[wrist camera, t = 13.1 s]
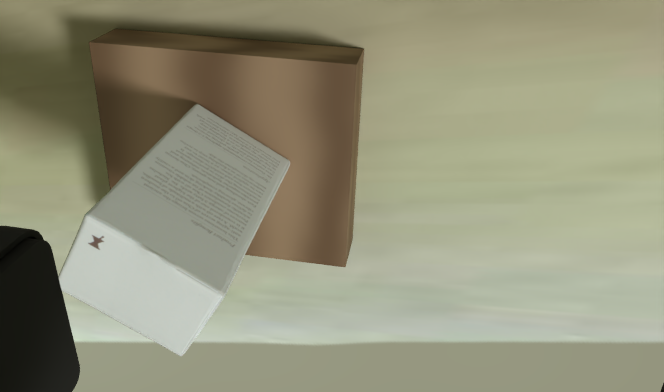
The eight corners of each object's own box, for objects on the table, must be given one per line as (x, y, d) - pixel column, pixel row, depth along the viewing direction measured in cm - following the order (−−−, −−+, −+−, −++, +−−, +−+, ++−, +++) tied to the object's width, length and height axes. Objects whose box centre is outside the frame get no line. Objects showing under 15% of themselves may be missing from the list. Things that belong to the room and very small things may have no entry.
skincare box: (166, 160, 36) (46, 286, 25) (197, 100, 34) (82, 210, 23) (259, 217, 36) (181, 362, 26) (295, 161, 34) (226, 294, 24)
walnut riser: (364, 48, 34) (356, 64, 31) (352, 240, 40) (345, 267, 37) (115, 28, 36) (89, 42, 33) (138, 214, 41) (117, 238, 39)
